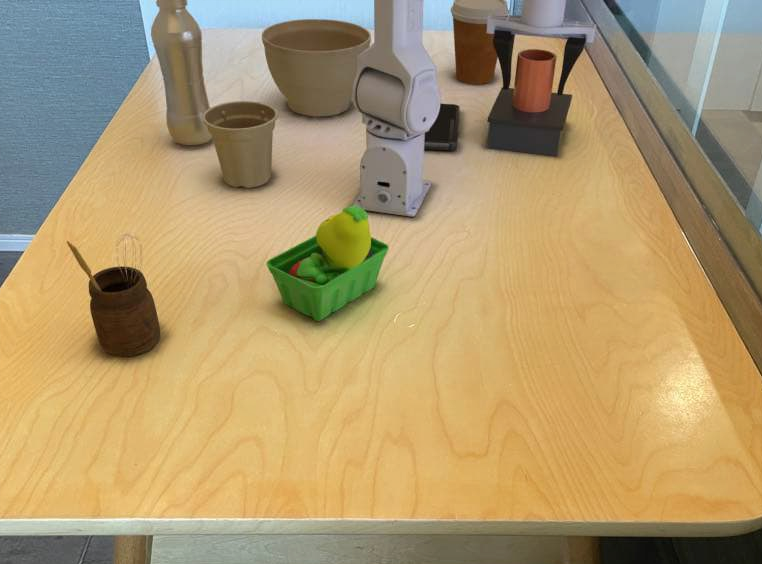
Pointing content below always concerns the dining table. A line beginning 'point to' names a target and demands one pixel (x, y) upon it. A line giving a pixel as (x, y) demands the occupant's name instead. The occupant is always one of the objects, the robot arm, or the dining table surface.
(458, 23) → the disposable coffee cup
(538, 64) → the cup
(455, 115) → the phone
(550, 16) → the robot arm
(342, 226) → the fruit basket
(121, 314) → the utensil holder
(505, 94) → the container
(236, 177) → the flower pot
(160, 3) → the plastic bottle
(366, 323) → the dining table surface
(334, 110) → the planter bowl
